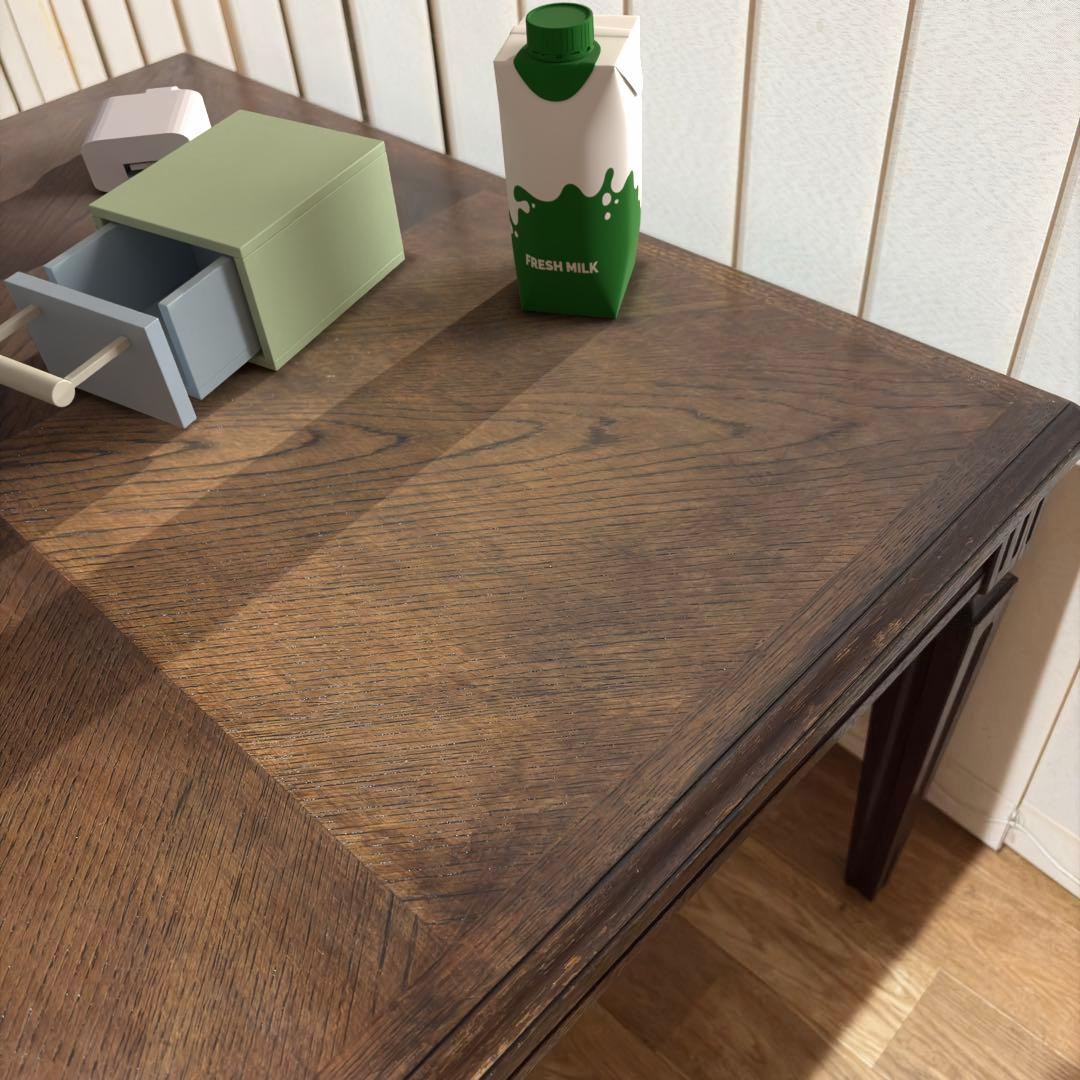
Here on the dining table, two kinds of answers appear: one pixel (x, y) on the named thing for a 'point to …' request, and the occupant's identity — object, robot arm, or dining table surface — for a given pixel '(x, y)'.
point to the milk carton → (572, 156)
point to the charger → (140, 132)
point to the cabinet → (274, 218)
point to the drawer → (132, 323)
